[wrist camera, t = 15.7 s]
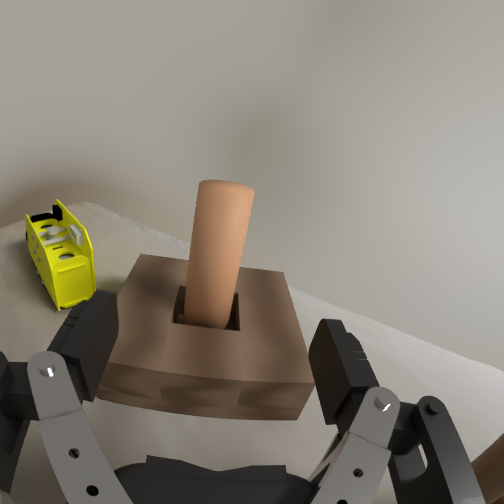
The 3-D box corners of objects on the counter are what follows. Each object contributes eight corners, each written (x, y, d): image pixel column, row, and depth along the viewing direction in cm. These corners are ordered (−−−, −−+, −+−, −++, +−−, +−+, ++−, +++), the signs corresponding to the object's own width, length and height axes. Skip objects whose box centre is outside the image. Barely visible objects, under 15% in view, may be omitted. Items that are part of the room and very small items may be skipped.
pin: (179, 348, 25) (196, 190, 19) (184, 320, 28) (201, 177, 23) (224, 354, 26) (257, 199, 20) (224, 325, 29) (252, 185, 23)
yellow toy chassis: (101, 302, 31) (96, 234, 27) (57, 317, 26) (45, 246, 23) (60, 248, 39) (57, 195, 36) (28, 256, 35) (21, 201, 31)
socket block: (99, 398, 20) (87, 356, 17) (140, 291, 34) (140, 253, 32) (296, 419, 22) (316, 382, 20) (273, 308, 36) (283, 272, 34)
